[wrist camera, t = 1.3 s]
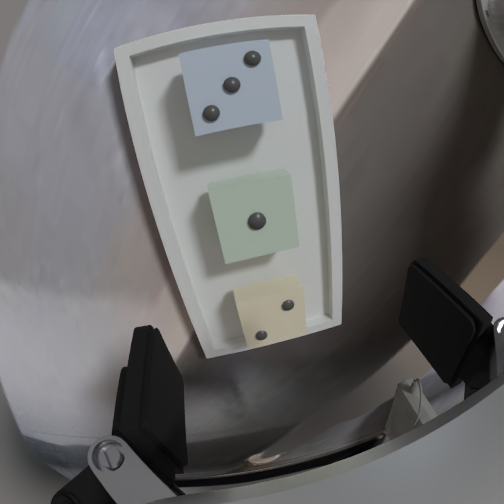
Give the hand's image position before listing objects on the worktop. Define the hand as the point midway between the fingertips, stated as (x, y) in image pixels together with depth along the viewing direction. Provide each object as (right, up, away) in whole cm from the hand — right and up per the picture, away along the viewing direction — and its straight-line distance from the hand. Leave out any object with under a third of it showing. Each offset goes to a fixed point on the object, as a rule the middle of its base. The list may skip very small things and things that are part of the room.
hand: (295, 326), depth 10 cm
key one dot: (-2, +6, +11) cm, 13 cm away
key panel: (-2, +7, +13) cm, 15 cm away
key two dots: (0, -2, +16) cm, 16 cm away
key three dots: (-3, +13, +7) cm, 15 cm away
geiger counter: (+26, -25, +36) cm, 51 cm away
